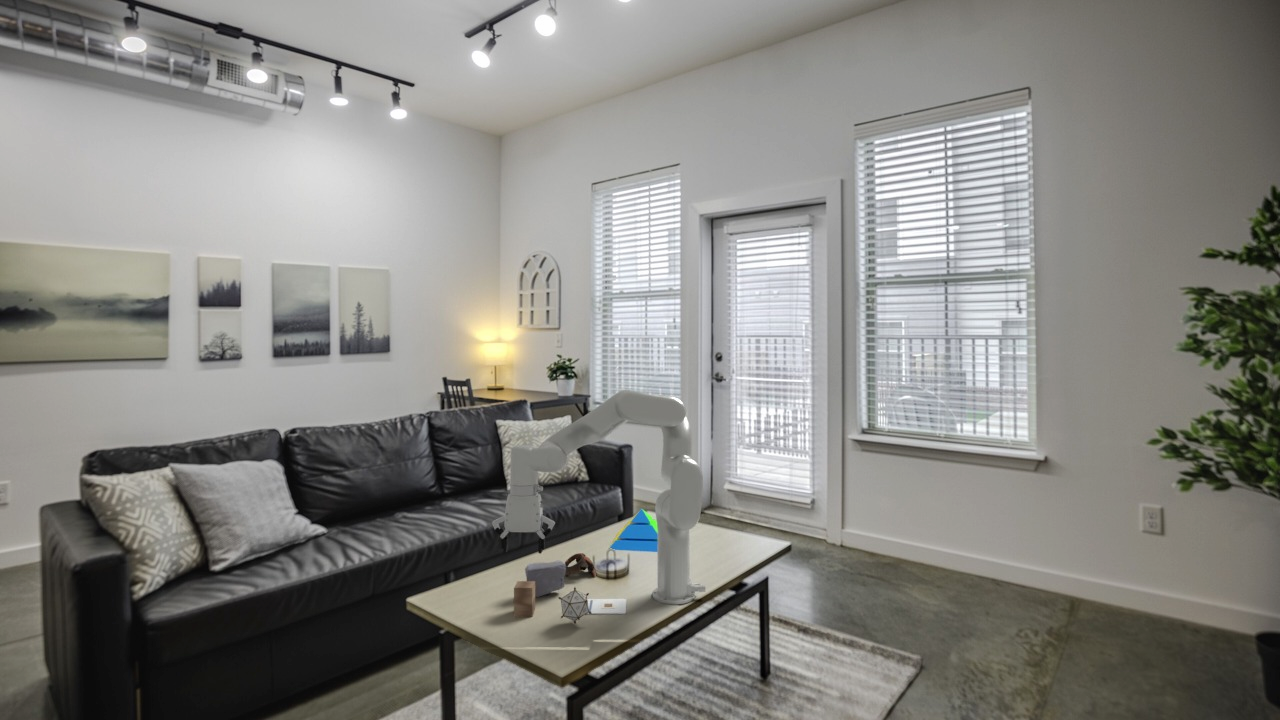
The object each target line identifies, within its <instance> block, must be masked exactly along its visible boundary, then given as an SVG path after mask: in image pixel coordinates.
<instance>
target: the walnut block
mask: <svg viewBox="0 0 1280 720" xmlns="http://www.w3.org/2000/svg"><path fill="white" fill-rule="evenodd" d="M535 611H536V597H535V581H527V580H524V581H519V580H518V581H516V583H515V585H514V587H513V617H514V618H532V617H534V614H535Z"/></svg>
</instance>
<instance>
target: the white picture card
mask: <svg viewBox="0 0 1280 720" xmlns="http://www.w3.org/2000/svg"><path fill="white" fill-rule="evenodd" d="M587 600H588V608H589V612H591V613H592V614H590V613H587V614H586V615H626V614H627V613H626V612H627V598H587Z"/></svg>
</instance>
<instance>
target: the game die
mask: <svg viewBox="0 0 1280 720" xmlns="http://www.w3.org/2000/svg"><path fill="white" fill-rule="evenodd" d="M589 594H590V593H589V592H587V593H586V594H585V593H583V592H581V591H578V590H577V588H576V586H574V587H573V590H572V591H571V590H570V592H569V593H567V594H566V595H564V596H563V597H560V596H558V597H557V599H559V600H560V604H561V613H562V615H561V616H560V619H563V617H564V618H566V619H569V620H571V621H573V624H577V622H576V621H580V620H581V618H582V617H584V616H586V615H588V614H587V613H590V614H589V615H593V614H592V613H591V612H589V608H588V600H587V599H588V596H589Z"/></svg>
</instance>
